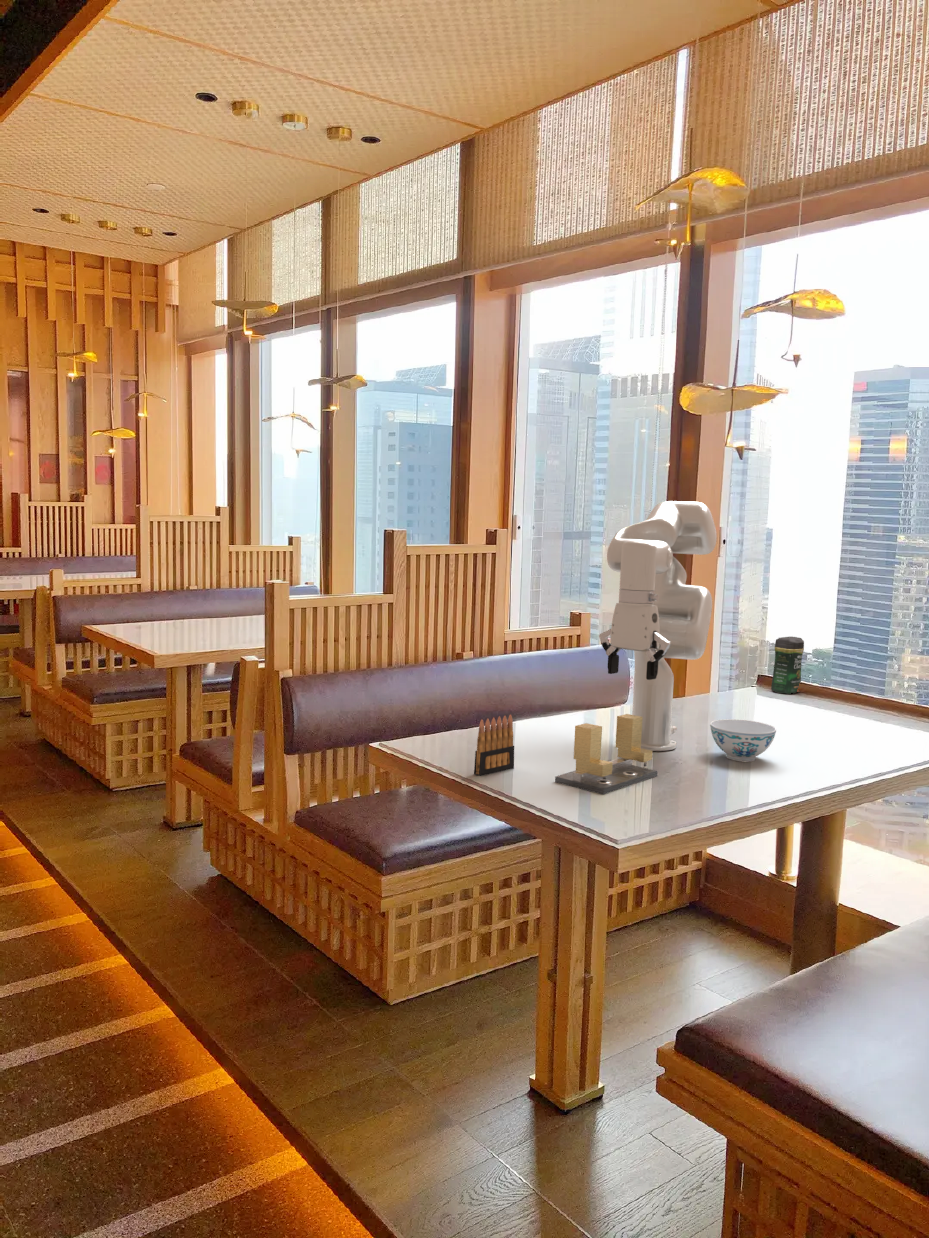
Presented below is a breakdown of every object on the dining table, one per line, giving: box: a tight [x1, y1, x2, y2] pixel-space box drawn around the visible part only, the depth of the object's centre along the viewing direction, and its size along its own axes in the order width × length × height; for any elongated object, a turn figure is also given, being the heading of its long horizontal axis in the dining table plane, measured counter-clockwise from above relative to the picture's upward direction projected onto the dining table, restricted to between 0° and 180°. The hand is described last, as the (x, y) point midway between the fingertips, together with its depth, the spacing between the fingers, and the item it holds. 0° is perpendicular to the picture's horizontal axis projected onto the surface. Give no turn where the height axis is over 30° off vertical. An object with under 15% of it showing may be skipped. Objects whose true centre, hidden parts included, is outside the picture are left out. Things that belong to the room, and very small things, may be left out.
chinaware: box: [709, 718, 777, 763], centre depth 232 cm, size 15×15×8 cm
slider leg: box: [615, 713, 654, 767], centre depth 216 cm, size 4×7×10 cm, turn 49°
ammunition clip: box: [473, 714, 515, 777], centre depth 212 cm, size 11×2×12 cm, turn 134°
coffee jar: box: [770, 636, 805, 695], centre depth 325 cm, size 10×8×19 cm
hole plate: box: [554, 722, 658, 795], centre depth 209 cm, size 21×12×12 cm, turn 139°
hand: (631, 676), depth 215 cm, fingers open, 9 cm apart
